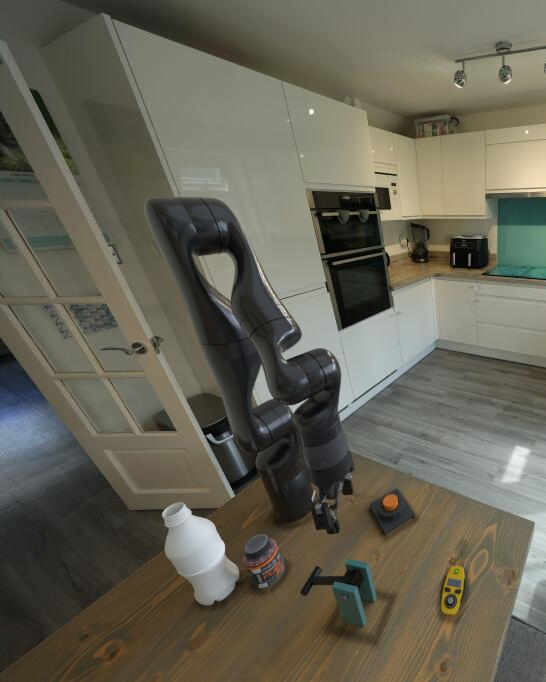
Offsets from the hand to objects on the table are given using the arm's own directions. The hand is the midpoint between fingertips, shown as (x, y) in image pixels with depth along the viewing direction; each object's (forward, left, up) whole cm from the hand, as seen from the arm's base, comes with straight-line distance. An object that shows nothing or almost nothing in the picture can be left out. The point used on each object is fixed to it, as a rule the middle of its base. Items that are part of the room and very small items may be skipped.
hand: (341, 511), depth 64 cm
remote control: (+18, +16, -17) cm, 29 cm away
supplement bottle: (-8, -15, -17) cm, 24 cm away
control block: (-5, +12, -16) cm, 21 cm away
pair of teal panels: (+11, -2, -16) cm, 20 cm away
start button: (-5, +12, -13) cm, 18 cm away
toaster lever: (+8, -5, -8) cm, 12 cm away
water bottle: (-12, -24, -17) cm, 31 cm away
